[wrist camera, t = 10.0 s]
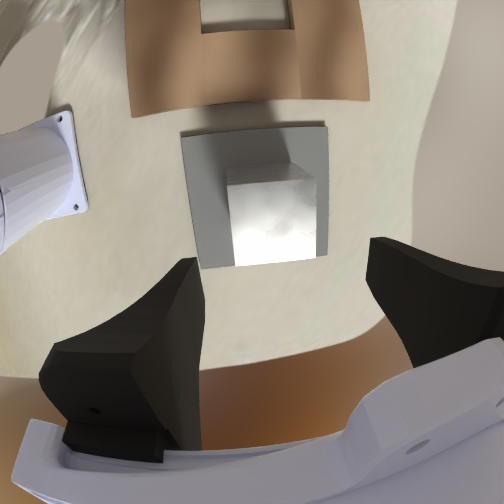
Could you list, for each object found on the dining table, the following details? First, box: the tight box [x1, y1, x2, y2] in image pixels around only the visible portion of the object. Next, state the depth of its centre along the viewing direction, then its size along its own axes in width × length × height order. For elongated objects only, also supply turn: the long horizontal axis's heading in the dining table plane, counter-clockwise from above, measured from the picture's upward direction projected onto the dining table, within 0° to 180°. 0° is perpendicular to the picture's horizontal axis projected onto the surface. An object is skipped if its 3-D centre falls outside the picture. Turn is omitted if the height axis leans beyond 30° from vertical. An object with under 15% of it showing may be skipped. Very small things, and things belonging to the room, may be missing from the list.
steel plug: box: [227, 161, 316, 266], centre depth 17 cm, size 4×4×6 cm
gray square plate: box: [181, 127, 329, 269], centre depth 20 cm, size 10×10×1 cm
